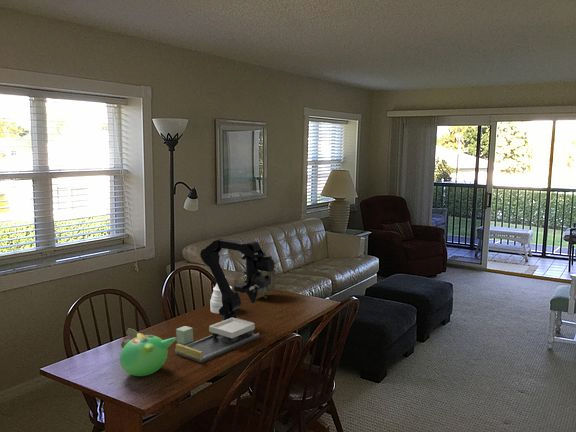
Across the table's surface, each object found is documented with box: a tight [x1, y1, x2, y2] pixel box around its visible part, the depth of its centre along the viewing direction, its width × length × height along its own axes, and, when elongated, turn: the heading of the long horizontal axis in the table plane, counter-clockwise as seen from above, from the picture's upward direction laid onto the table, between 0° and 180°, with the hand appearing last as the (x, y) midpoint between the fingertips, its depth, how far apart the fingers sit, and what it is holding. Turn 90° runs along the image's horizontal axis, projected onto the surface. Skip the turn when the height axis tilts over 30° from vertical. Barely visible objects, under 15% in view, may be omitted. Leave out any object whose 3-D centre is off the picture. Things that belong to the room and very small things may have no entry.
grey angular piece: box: [120, 328, 139, 349], centre depth 207 cm, size 9×6×10 cm
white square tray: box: [208, 317, 256, 343], centre depth 216 cm, size 14×15×5 cm
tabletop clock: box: [257, 268, 276, 299], centre depth 276 cm, size 14×9×25 cm, turn 145°
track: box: [174, 332, 261, 364], centre depth 210 cm, size 16×34×4 cm, turn 141°
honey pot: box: [209, 275, 233, 315], centre depth 257 cm, size 13×13×18 cm
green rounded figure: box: [119, 332, 177, 377], centre depth 183 cm, size 18×17×15 cm
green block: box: [175, 325, 194, 346], centre depth 214 cm, size 5×5×6 cm
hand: (253, 302), depth 225 cm, fingers closed
